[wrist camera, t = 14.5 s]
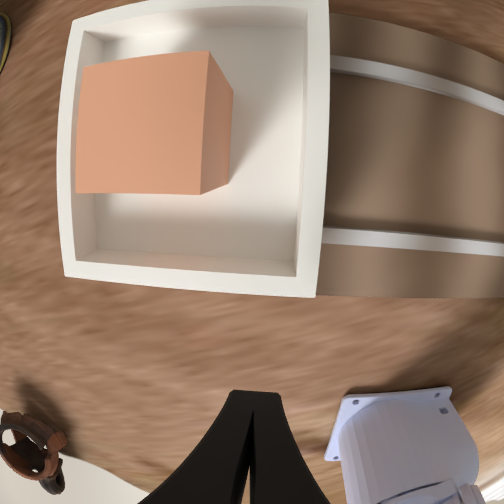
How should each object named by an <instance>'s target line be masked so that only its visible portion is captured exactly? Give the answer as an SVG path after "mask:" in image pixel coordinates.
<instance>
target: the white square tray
mask: <svg viewBox="0 0 504 504" xmlns="http://www.w3.org/2000/svg"><path fill="white" fill-rule="evenodd" d="M191 51H210V53H211V54H212V56H213V58H214V59H215V61H216V63H217V64H218V66H219V67H220V69H221V71H222V72H223V74H224V76H225V78H226V79H227V81H228V83H229V84H230V86H231V88H232V89H233V106H232V122H231V139H230V157H229V176H228V184H227V185H224V186H222V187H219V188H217V189H214V190H212V191H209V192H207V193H204V194H202V195H179V194H138V193H75V162H76V135H77V120H78V108H79V98H80V89H81V81H82V74H83V67H86V66H91V65H95V64H100V63H105V62H111V61H116V60H122V59H128V58H134V57H141V56H149V55H157V54H167V53H178V52H191ZM329 101H330V37H329V6H328V0H149V1H143V2H139V3H134V4H129V5H125V6H121V7H117V8H113V9H109V10H105V11H102V12H98V13H95V14H91V15H88V16H85V17H82V18H79V19H76V20H73V23H72V27H71V32H70V36H69V41H68V47H67V52H66V58H65V64H64V71H63V78H62V86H61V95H60V105H59V118H58V135H57V200H58V217H59V230H60V241H61V250H62V258H63V266H64V273H65V276H68V277H75V278H83V279H92V280H100V281H109V282H118V283H127V284H136V285H146V286H156V287H167V288H177V289H189V290H201V291H213V292H226V293H240V294H255V295H271V296H288V297H308V298H315V295H316V286H317V278H318V269H319V260H320V250H321V239H322V229H323V217H324V204H325V190H326V175H327V157H328V135H329Z"/></svg>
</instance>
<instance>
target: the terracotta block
mask: <svg viewBox="0 0 504 504" xmlns="http://www.w3.org/2000/svg"><path fill="white" fill-rule="evenodd" d="M232 106H233V89H232V88H231V86H230V84H229V83H228V81H227V79H226V78H225V76H224V74H223V72H222V71H221V69H220V67H219V66H218V64H217V63H216V61H215V59H214V58H213V56H212V54H211V53H210V51H191V52H178V53H167V54H157V55H149V56H141V57H134V58H128V59H122V60H116V61H111V62H105V63H100V64H95V65H91V66H86V67H83V74H82V81H81V89H80V98H79V108H78V120H77V135H76V162H75V193H138V194H179V195H202V194H204V193H207V192H209V191H212V190H214V189H217V188H219V187H222V186H224V185H227V184H228V176H229V157H230V139H231V122H232Z"/></svg>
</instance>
